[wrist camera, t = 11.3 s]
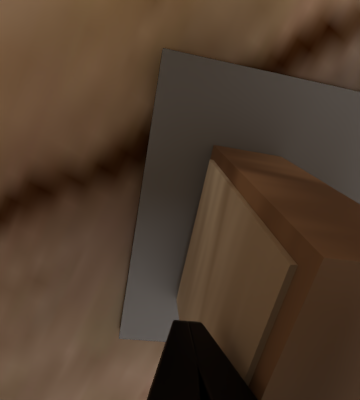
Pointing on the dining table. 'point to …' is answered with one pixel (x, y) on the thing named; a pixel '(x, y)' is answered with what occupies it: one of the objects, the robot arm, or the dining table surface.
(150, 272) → the rubber mat
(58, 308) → the dining table surface
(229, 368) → the robot arm
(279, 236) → the walnut slab
